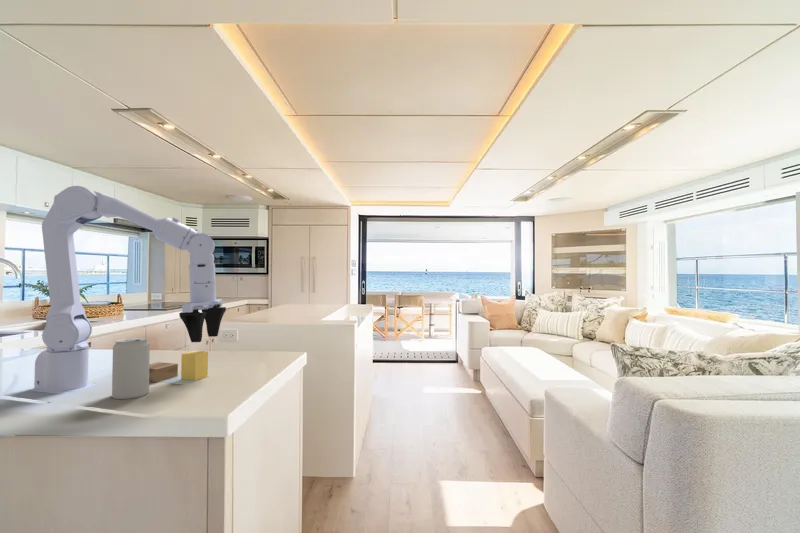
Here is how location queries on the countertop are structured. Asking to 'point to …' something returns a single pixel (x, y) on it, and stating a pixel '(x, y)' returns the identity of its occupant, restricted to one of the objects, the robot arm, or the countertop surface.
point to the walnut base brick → (162, 371)
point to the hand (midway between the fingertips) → (204, 339)
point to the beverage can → (130, 368)
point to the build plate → (178, 380)
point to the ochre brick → (194, 365)
